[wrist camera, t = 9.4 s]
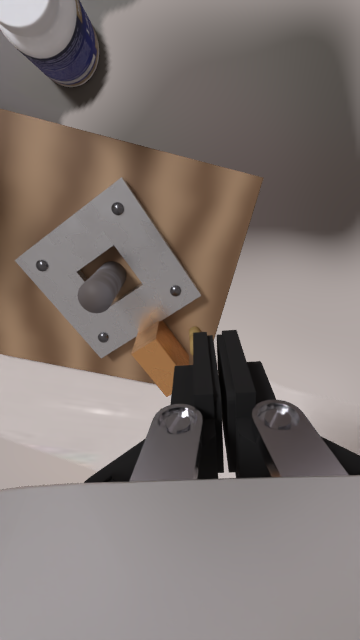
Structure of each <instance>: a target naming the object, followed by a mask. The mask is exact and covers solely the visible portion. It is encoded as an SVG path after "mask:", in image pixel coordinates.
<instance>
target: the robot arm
mask: <svg viewBox="0 0 360 640" xmlns="http://www.w3.org/2000/svg"><path fill="white" fill-rule="evenodd" d="M217 355H218V370H217V363H216V356H215V349H214V342H213V335H207V332H194V333H193V365H181V366H175V367H174V376H173V386H172V396H171V405H169V406H166V407H164V408H162V409H161V410H160V411H159V412H157V413H156V415H155V417H154V418H153V421H152V423H151V426H150V429H149V431H148V434H147V437H146V439H144V440H143V441H141V442H140V443H139V444H137V445H136V446H134V447H133V448H131V449H130V450H129V451H127V452H126V453H124V454H123V455H121V456H120V457H118V458H117V459H116V460H114V461H113V462H111V463H110V464H108V465H107V466H105V467H104V468H103V469H101V470H100V471H98V472H97V473H95V474H94V475H93V476H91V477H90V478H89V479H87V480H86V481H85V482H84V483H71V484H54V485H39V486H24V487H16V488H9V489H2V490H0V640H360V456H359V455H357V454H355V453H353V452H351V451H349V450H347V449H345V448H343V447H341V446H339V445H337V444H335V443H333V442H331V441H329V440H327V439H325V438H323V437H321V436H320V435H319V434H318V432H317V431H316V430H315V428H314V427H313V426H312V424H311V423H310V421H309V420H308V419H307V417H306V416H305V415H304V413H303V412H302V411H301V410H300V409H299V408H298V407H297V406H295V405H293V404H291V403H289V402H286V401H282V400H276V398H275V395H274V393H273V390H272V388H271V385H270V383H269V380H268V378H267V375H266V373H265V370H264V368H263V366H262V363H261V362H260V361H258V362H246V359H245V356H244V353H243V349H242V346H241V343H240V340H239V337H238V334H237V331H236V330H229V331H222V335H217ZM222 423H223V430H224V438H225V446H226V453H227V461H228V469H229V472H235V473H236V478H225V479H218V473H224V463H223V436H222Z"/></svg>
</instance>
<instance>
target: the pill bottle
mask: <svg viewBox="0 0 360 640" xmlns="http://www.w3.org/2000/svg"><path fill="white" fill-rule="evenodd" d="M0 29H1V31H2V32H3V34H4V35H5V37H6V38H7V39H8V40H9V41H10V42H11V43H12V44H13V45H14V46H15V47H16V48H17V50H19V51H20V52H21V53H22V54H23V55H24V56H26V57H27V58H28V59H29V60H30V61H31V62H32V63H33V64H34V65H36V66H37V67H38V68H39V69H40V70H41V71H42V72H43V73H44V74H45V75H46V76H48V77H49V78H50V79H51V80H53V81H54V82H56V83H58V84H60V85H62V86H66V87H76V86H80V85H82V84H84V83H85V82H87V81H88V80H89V79H90V78H91V77H92V75H93V74H94V72H95V70H96V67H97V64H98V59H99V44H98V39H97V36H96V33H95V30H94V28H93V26H92V24H91V22H90V20H89V18H88V16H87V14H86V12H85V10H84V9H83V7H82V5H81V3H80V1H79V0H0Z"/></svg>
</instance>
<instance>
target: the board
mask: <svg viewBox="0 0 360 640" xmlns="http://www.w3.org/2000/svg"><path fill="white" fill-rule="evenodd" d="M121 177H122V178H124V179H125V181H126V182H127V184H128V185H129V187H130V188H131V190H132V191H133V193H134V194H135V196H136V197H137V198H138V200H139V201H140V203H141V204H142V206H143V207H144V209H145V210H146V212H147V213H148V215H149V216H150V218H151V219H152V221H153V222H154V224H155V225H156V227H157V228H158V230H159V231H160V233H161V234H162V236H163V237H164V239H165V240H166V242H167V243H168V245H169V246H170V248H171V249H172V250H173V252H174V253H175V255H176V256H177V258H178V259H179V261H180V262H181V264H182V265H183V267H184V268H185V270H186V271H187V273H188V274H189V276H190V277H191V279H192V280H193V282H194V283H195V285H196V286H197V288H198V289H199V291H200V292H201V296H200V297H198V298H197V299H195V300H193V301H192V302H190V303H189V304H187V305H185V306H184V307H182V308H181V309H179V310H178V311H176V312H174V313H173V314H171V315H170V316H168V317H166V318H165V319H163V322H164V323H165V324H166V326H167V327H168V328H169V330H170V331H171V332H172V334H173V335H174V336H175V338H176V339H177V340H178V342H179V343H180V344H181V346H182V347H183V348H184V350H185V351H186V352H187V354H188V355H189V365H193V333H194V332H207V335H213V341H214V337H215V334H216V331H217V328H218V325H219V321H220V318H221V315H222V311H223V308H224V305H225V302H226V298H227V295H228V292H229V289H230V285H231V282H232V279H233V275H234V272H235V269H236V266H237V262H238V259H239V256H240V253H241V249H242V246H243V243H244V240H245V236H246V233H247V230H248V227H249V224H250V220H251V217H252V214H253V211H254V207H255V204H256V201H257V197H258V194H259V191H260V188H261V184H262V181H263V178H262V177H258V176H254V175H251V174H247V173H243V172H239V171H235V170H231V169H228V168H224V167H220V166H216V165H212V164H208V163H205V162H201V161H197V160H193V159H190V158H186V157H182V156H178V155H174V154H171V153H167V152H163V151H159V150H155V149H151V148H148V147H144V146H140V145H136V144H133V143H129V142H125V141H121V140H117V139H113V138H110V137H106V136H102V135H98V134H94V133H91V132H87V131H83V130H79V129H75V128H72V127H68V126H64V125H60V124H57V123H53V122H49V121H45V120H41V119H38V118H34V117H30V116H26V115H22V114H19V113H15V112H11V111H7V110H3V109H0V354H3V355H8V356H13V357H18V358H24V359H29V360H34V361H39V362H44V363H49V364H55V365H60V366H65V367H70V368H75V369H80V370H86V371H91V372H96V373H101V374H106V375H111V376H117V377H122V378H127V379H132V380H137V381H142V382H147V383H153V384H155V382H154V381H153V380H152V379H151V377H150V376H149V375H148V374H147V373H146V371H145V370H144V369H143V368H142V367H141V365H140V364H139V363H138V362H137V361H136V359H135V358H134V357H133V356H132V355H131V353H132V350H133V347H134V343H135V340H136V337H137V336H136V337H134V338H133V339H131V340H130V341H128V342H127V343H125V344H123V345H122V346H120V347H119V348H117V349H115V350H114V351H112V352H111V353H109V354H107V355H106V356H104V357H103V358H100V357H99V356H98V354H97V353H96V352H95V351H94V350H93V349H92V348H91V347H90V345H89V344H88V343H87V342H86V341H85V340H84V339H83V337H82V336H81V335H80V334H79V333H78V332H77V331H76V329H75V328H74V327H73V326H72V325H71V324H70V323H69V322H68V320H67V319H66V318H65V317H64V316H63V315H62V314H61V312H60V311H59V310H58V309H57V308H56V307H55V306H54V305H53V303H52V302H51V301H50V300H49V299H48V298H47V297H46V295H45V294H44V293H43V292H42V291H41V290H40V289H39V288H38V286H37V285H36V284H35V283H34V282H33V281H32V280H31V278H30V277H29V276H28V275H27V274H26V273H25V272H24V271H23V269H22V268H21V267H20V266H19V265H18V264H17V263H16V261H15V260H16V259H17V258H18V257H19V256H21V255H22V254H23V253H25V252H26V251H27V250H28V249H30V248H31V247H32V246H34V245H35V244H36V243H37V242H39V241H40V240H41V239H43V238H44V237H45V236H46V235H48V234H49V233H50V232H52V231H53V230H54V229H55V228H57V227H58V226H59V225H61V224H62V223H63V222H64V221H66V220H67V219H68V218H70V217H71V216H72V215H73V214H75V213H76V212H77V211H79V210H80V209H81V208H83V207H84V206H85V205H86V204H88V203H89V202H90V201H92V200H93V199H94V198H95V197H97V196H98V195H99V194H101V193H102V192H103V191H104V190H106V189H107V188H108V187H110V186H111V185H112V184H113V183H115V182H116V181H117V180H119V179H120V178H121ZM80 270H81V271H82V273H83V274H84V275H85V276H86V278H87V279H88V280H86V281H85V282H84V283H83V284H82V285H81V287H80V288H79V290H78V301H79V303H80V305H81V306H82V307H83V308H84V309H85V310H87V311H89V312H91V313H102V312H104V311H106V310H107V309H108V308H109V307H110V306H111V304H112V303H113V302H115V301H116V300H118V299H119V298H121V297H122V296H124V295H125V294H126V293H128V292H129V291H131V290H132V289H134V288H135V287H137V286H138V285H140V284H141V283H142V282H141V281H140V280H139V278H138V277H137V276H136V274H135V273H134V272H133V270H132V269H131V268H130V266H129V265H128V264H127V262H126V261H125V259H124V258H123V257H122V255H121V254H120V253H119V251H118V250H117V249H116V247H115V246H114V245H113V246H112V247H110V248H109V249H108V250H106V251H105V252H103V253H102V254H101V255H99V256H98V257H97V258H95V259H94V260H92V261H91V262H90V263H88V264H87V265H85V266H84V267H83V268H81V269H80Z"/></svg>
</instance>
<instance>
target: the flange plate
mask: <svg viewBox="0 0 360 640" xmlns="http://www.w3.org/2000/svg"><path fill="white" fill-rule="evenodd" d="M113 245H114V246H115V247H116V249H117V250H118V251H119V253H120V254H121V255H122V257H123V258H124V259H125V261H126V262H127V264H128V265H129V266H130V268H131V269H132V270H133V272H134V273H135V274H136V276H137V277H138V278H139V280H140V281H141V282H142V283H141V284H140V285H138V286H137V287H135V288H134V289H132V290H131V291H129V292H128V293H126V294H125V295H124V296H122V297H121V298H119V299H118V300H116V301H115V302H113V303H112V304H111V306H110V307H109V308H108V309H107V310H106V311H104V312H102V313H91V312H89V311H87V310H85V309H84V308H83V307H82V306H81V305H80V303H79V301H78V290H79V288H80V287H81V285H82V284H83V283H84V282H85V281H86V280H88V279H87V278H86V276H85V275H84V274H83V273H82V271H81V270H80V269H81V268H83V267H84V266H85V265H87V264H88V263H90V262H91V261H92V260H94V259H95V258H97V257H98V256H99V255H101V254H102V253H103V252H105V251H106V250H108V249H109V248H110V247H112V246H113ZM15 261H16V263H17V264H18V265H19V266H20V267H21V268H22V269H23V271H24V272H25V273H26V274H27V275H28V276H29V277H30V278H31V280H32V281H33V282H34V283H35V284H36V285H37V286H38V288H39V289H40V290H41V291H42V292H43V293H44V294H45V295H46V297H47V298H48V299H49V300H50V301H51V302H52V303H53V305H54V306H55V307H56V308H57V309H58V310H59V311H60V312H61V314H62V315H63V316H64V317H65V318H66V319H67V320H68V322H69V323H70V324H71V325H72V326H73V327H74V328H75V329H76V331H77V332H78V333H79V334H80V335H81V336H82V337H83V339H84V340H85V341H86V342H87V343H88V344H89V345H90V347H91V348H92V349H93V350H94V351H95V352H96V353H97V354H98V356H99V357H100V358H103V357H104V356H106V355H107V354H109V353H111V352H112V351H114V350H115V349H117V348H119V347H120V346H122V345H123V344H125V343H127V342H128V341H130V340H131V339H133V338H134V337H136V336H137V337H136V340H135V343H134V347H133V350H132V353H131V355H132V356H133V357H134V358H135V359H136V361H137V362H138V363H139V364H140V365H141V367H142V368H143V369H144V370H145V371H146V373H147V374H148V375H149V376H150V377H151V379H152V380H153V381H154V382H155V384H156V385H157V386H158V387H159V388H160V390H161V391H162V392H163V393H164V394H165V396H166V397H168V396H169V395H171V394H172V386H173V376H174V367H175V366H181V365H189V355H188V354H187V352H186V351H185V350H184V348H183V347H182V346H181V344H180V343H179V342H178V340H177V339H176V338H175V336H174V335H173V334H172V332H171V331H170V330H169V328H168V327H167V326H166V324H165V323H164V322H163V319H165V318H166V317H168V316H170V315H171V314H173V313H174V312H176V311H178V310H179V309H181V308H182V307H184V306H185V305H187V304H189V303H190V302H192V301H193V300H195V299H197V298H198V297H200V296H201V292H200V291H199V289H198V288H197V286H196V285H195V283H194V282H193V280H192V279H191V277H190V276H189V274H188V273H187V271H186V270H185V268H184V267H183V265H182V264H181V262H180V261H179V259H178V258H177V256H176V255H175V253H174V252H173V250H172V249H171V248H170V246H169V245H168V243H167V242H166V240H165V239H164V237H163V236H162V234H161V233H160V231H159V230H158V228H157V227H156V225H155V224H154V222H153V221H152V219H151V218H150V216H149V215H148V213H147V212H146V210H145V209H144V207H143V206H142V204H141V203H140V201H139V200H138V198H137V197H136V196H135V194H134V193H133V191H132V190H131V188H130V187H129V185H128V184H127V182H126V181H125V179H124V178H122V177H121V178H120V179H119V180H117V181H116V182H115V183H113V184H112V185H111V186H110V187H108V188H107V189H106V190H104V191H103V192H102V193H101V194H99V195H98V196H97V197H95V198H94V199H93V200H92V201H90V202H89V203H88V204H86V205H85V206H84V207H83V208H81V209H80V210H79V211H77V212H76V213H75V214H73V215H72V216H71V217H70V218H68V219H67V220H66V221H64V222H63V223H62V224H61V225H59V226H58V227H57V228H55V229H54V230H53V231H52V232H50V233H49V234H48V235H46V236H45V237H44V238H43V239H41V240H40V241H39V242H37V243H36V244H35V245H34V246H32V247H31V248H30V249H28V250H27V251H26V252H25V253H23V254H22V255H21V256H19V257H18V258H17V259H16V260H15Z"/></svg>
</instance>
